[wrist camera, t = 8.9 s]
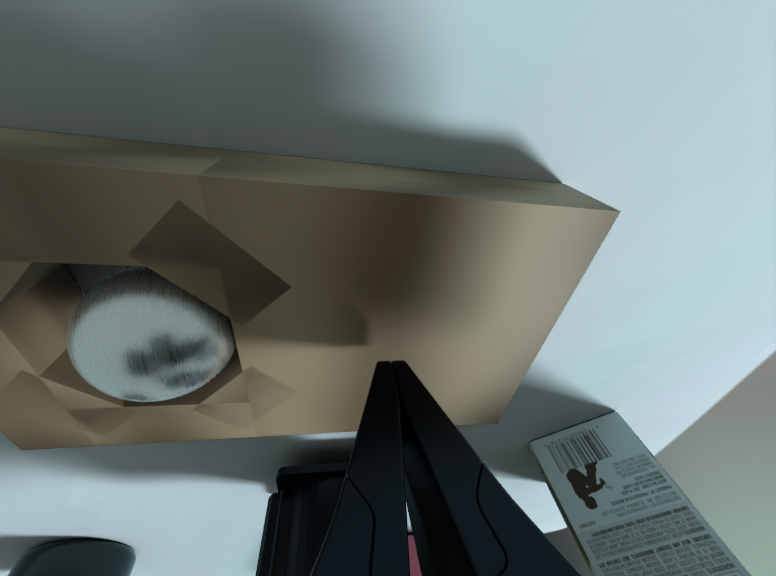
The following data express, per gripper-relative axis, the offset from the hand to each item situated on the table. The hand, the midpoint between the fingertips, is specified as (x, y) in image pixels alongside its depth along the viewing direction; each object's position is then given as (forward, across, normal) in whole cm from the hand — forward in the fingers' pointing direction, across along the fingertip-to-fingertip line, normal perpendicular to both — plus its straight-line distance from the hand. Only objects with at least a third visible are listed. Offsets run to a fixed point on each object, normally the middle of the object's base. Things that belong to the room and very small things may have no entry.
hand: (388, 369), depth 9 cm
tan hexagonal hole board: (+4, +3, 0) cm, 5 cm away
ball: (+2, +5, 0) cm, 5 cm away
